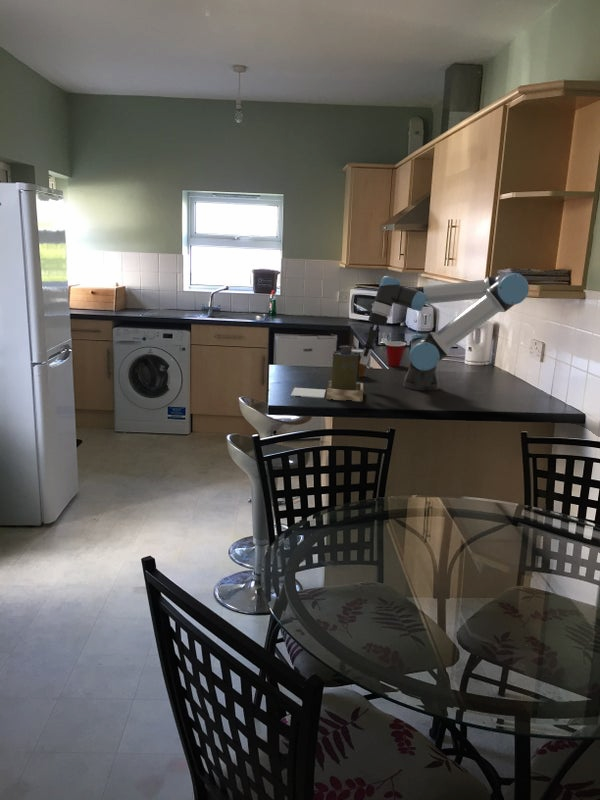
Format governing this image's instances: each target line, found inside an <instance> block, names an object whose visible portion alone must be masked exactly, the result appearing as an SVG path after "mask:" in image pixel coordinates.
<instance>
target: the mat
mask: <svg viewBox="0 0 600 800" xmlns="http://www.w3.org/2000/svg"><path fill="white" fill-rule="evenodd" d="M326 393H327V389H321V388H319V389H318V388H308V387H307V388H305V387H294V388H293V390H292V391H291V394H290V397H295V396H301V397H300V398H313V399H325V397H326V396H325V395H326Z"/></svg>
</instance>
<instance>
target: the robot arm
mask: <svg viewBox="0 0 600 800" xmlns="http://www.w3.org/2000/svg"><path fill="white" fill-rule="evenodd" d="M507 273H508V274H505V273H502V274H503V275H501V274H497V275H493V276H486V277H485V278H484V279H479V280H478V279H477V280H469V281H461V282H460V281H459V282H452V283H442V284H432V285H425V286H423V285H422V286H410V287H405V286H402V284H401V280H400V279H399V278H395V277H392V276H388V275H385V276H383V277H382V279H381V281H380V283H379V286H378V289H377V293H376V296H375V299H374V302H373V303H371V306H372V308H371V311H372V312H370V314H369V316H368V321H369V322H371V323H373V324H372V325H371V326H370V327H369V331H368V337H367V340H366V342H365V344H363V346H362V347H363V349H364V351H363V354H362V357H361V360H360V364H363V365H367V364H368V362H369V358H370V357H371V354H372V350H374V349H375V347H374V343H375V340H376V339H377V337H378V335H379V332H380V326H383V327H385V326H386V325H387V322H388V319H389V318H388V317H389V316H390V314H391V311H392V309H393V304H396V305H399V306H402V307H404V308H408V309H410V310H413V311H418V312H420V311H422V310H423V309H424V306H425V305H428V304H429V305H430V304H438V303H440V304H441V303H449V302H452V303H453V302H458V301H459V302H460V301H471V300H477V301H475V302H474V303H473V304H472V305H470V306H469V307H468V308H466V309H465V310H464V311H463V312H461V313H460V314H459V315H457V316H456V317H455V318H453V319H452V320H450V321H449V322H448V323H447V324H445V325H444V326H443V327H442V328H440V329H439V330H437V331H436V332H434V331H431V332H429V333H428V334H421V333H420V334H418V333H414V334H412V336H411V340H410V351H409V365H408V366H409V367H408V370H407V373H406V375H405V377H404V380H403V387H404V388H406V389H411V390H415V391H424V390H428V391H427V392H429V391H437V390H439V387H440V383H439V378H438V373H437V366H438V364H439V362H440V361H442V360H443V359H444V358H446V357H447V356H449V352H450V349H451V348H453V347H454V346H456V345H457V344H458V343H460V342H461V341H462V340H464V339H465V338H466V337H468V336H469V335H471V333H472V332H474V331H475V330H477V329H478V328H479V327H481V326H482V325H484V324H485V323H486V322H487V321H489V320H490V319H491V318H493V317H494V316H495V315H497V314H498V313H506V312H507V311H508V310H510V309H511V308H513V307H514V306H515V305H519V304H521V303H522V302H523V301H524V300H526V299H527V298H528V297H527V296H528V295H529V292H528V290H529V291H530V286H529V285H530V284H529V282H528V280H527V278H525V276H524V275H523V274H521V273H517V272H507Z"/></svg>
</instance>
